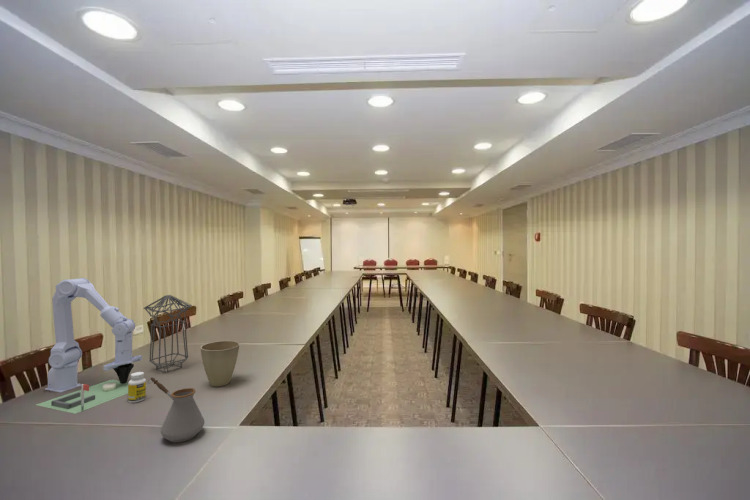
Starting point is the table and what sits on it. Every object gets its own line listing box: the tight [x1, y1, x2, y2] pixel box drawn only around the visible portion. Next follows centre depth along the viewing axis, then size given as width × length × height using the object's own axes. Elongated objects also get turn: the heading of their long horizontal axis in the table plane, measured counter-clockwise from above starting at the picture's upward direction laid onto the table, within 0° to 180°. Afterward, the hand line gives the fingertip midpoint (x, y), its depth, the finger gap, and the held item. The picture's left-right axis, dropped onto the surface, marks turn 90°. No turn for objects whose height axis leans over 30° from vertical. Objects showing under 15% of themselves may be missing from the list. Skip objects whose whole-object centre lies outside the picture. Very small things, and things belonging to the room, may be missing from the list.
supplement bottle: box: [127, 371, 147, 404], centre depth 127 cm, size 5×5×10 cm
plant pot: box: [200, 340, 240, 387], centre depth 143 cm, size 15×15×16 cm
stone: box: [103, 383, 116, 391], centre depth 136 cm, size 4×4×2 cm
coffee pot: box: [147, 377, 205, 443], centre depth 105 cm, size 21×12×15 cm, turn 65°
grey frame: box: [51, 383, 95, 412], centre depth 123 cm, size 18×8×9 cm, turn 72°
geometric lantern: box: [143, 294, 193, 373], centre depth 161 cm, size 16×16×35 cm
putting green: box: [35, 379, 148, 415], centre depth 131 cm, size 21×26×1 cm
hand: (123, 382), depth 141 cm, fingers closed
